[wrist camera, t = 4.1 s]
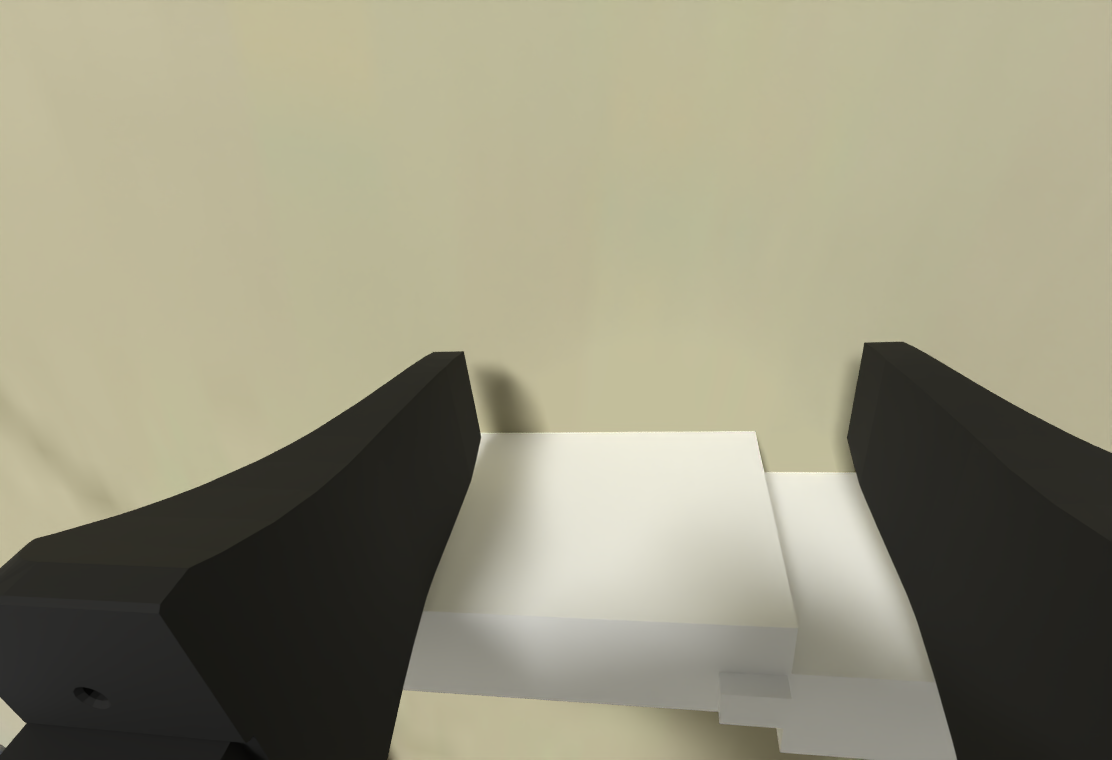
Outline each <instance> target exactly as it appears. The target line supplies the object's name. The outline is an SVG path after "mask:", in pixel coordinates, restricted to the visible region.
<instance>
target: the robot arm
mask: <svg viewBox="0 0 1112 760" xmlns="http://www.w3.org/2000/svg"><path fill="white" fill-rule="evenodd" d="M847 439H848V443H849V447H850V451H851V456H852V460H853V464H854V467H855V471H856V474H857V478H858V482H859V485H860V488H861V490H862V493H863V495H864V498H865V500H866V502H867V505H868V507H869V509H870V512H871V514H872V516H873V519H874V521H875V523H876V526H877V528H878V530H879V532H880V535H881V537H882V539H883V542H884V544H885V546H886V548H887V551H888V553H889V555H890V557H891V560H892V562H893V564H894V567H895V569H896V571H897V573H898V576H899V578H900V580H901V583H902V585H903V587H904V589H905V592H906V594H907V596H908V599H909V602H910V604H911V607H912V609H913V612H914V615H915V617H916V620H917V623H918V626H919V629H920V633H921V636H922V639H923V642H924V646H925V649H926V652H927V655H928V659H929V662H930V665H931V668H932V671H933V675H934V678H935V682H936V685H937V689H938V692H939V696H940V699H941V703H942V706H943V710H944V713H945V717H946V720H947V724H948V728H949V731H950V735H951V738H952V742H953V746H954V750H955V754H956V757H957V760H1112V453H1110V452H1108V451H1106V450H1103V449H1101V448H1099V447H1097V446H1094V445H1092V444H1090V443H1088V442H1086V441H1084V440H1081V439H1079V438H1077V437H1075V436H1073V435H1071V434H1069V433H1067V432H1065V431H1063V430H1061V429H1059V428H1057V427H1055V426H1053V425H1051V424H1049V423H1047V422H1045V421H1044V420H1042V419H1040V418H1038V417H1036V416H1034V415H1032V414H1030V413H1028V412H1026V411H1024V410H1023V409H1021V408H1019V407H1017V406H1015V405H1013V404H1012V403H1010V402H1008V401H1006V400H1004V399H1003V398H1001V397H999V396H997V395H996V394H994V393H992V392H990V391H989V390H987V389H985V388H983V387H982V386H980V385H978V384H977V383H975V382H973V381H972V380H970V379H968V378H966V377H965V376H963V375H961V374H960V373H958V372H956V371H955V370H953V369H951V368H950V367H948V366H946V365H945V364H943V363H941V362H940V361H938V360H936V359H934V358H933V357H931V356H929V355H928V354H926V353H924V352H922V351H920V350H919V349H917V348H915V347H913V346H911V345H909V344H907V343H904V342H873V343H864V348H863V354H862V359H861V365H860V370H859V376H858V381H857V387H856V392H855V398H854V403H853V409H852V414H851V420H850V425H849V431H848V436H847ZM480 441H481V434H480V429H479V424H478V419H477V414H476V409H475V404H474V399H473V394H472V390H471V385H470V380H469V375H468V370H467V365H466V360H465V355H464V351H461V352H433V353H431V354H429V355H427V356H425V357H424V358H422V359H421V360H419V361H418V362H416V363H415V364H413V365H412V366H410V367H409V368H407V369H406V370H404V371H403V372H401V373H400V374H399V375H397V376H396V377H394V378H393V379H392V380H390V381H389V382H387V383H386V384H384V385H383V386H382V387H380V388H379V389H377V390H376V391H374V392H373V393H372V394H370V395H369V396H367V397H366V398H364V399H363V400H361V401H360V402H358V403H357V404H355V405H354V406H352V407H351V408H349V409H348V410H346V411H344V412H343V413H341V414H340V415H338V416H337V417H335V418H333V419H332V420H330V421H329V422H327V423H326V424H324V425H322V426H321V427H319V428H318V429H316V430H314V431H313V432H311V433H309V434H308V435H306V436H304V437H302V438H300V439H299V440H297V441H295V442H293V443H291V444H290V445H288V446H286V447H284V448H282V449H280V450H278V451H276V452H274V453H272V454H270V455H268V456H266V457H264V458H262V459H260V460H258V461H256V462H254V463H252V464H249V465H247V466H245V467H243V468H240V469H238V470H236V471H234V472H231V473H229V474H227V475H225V476H222V477H220V478H218V479H215V480H213V481H211V482H209V483H206V484H204V485H202V486H199V487H197V488H194V489H191V490H189V491H186V492H183V493H181V494H178V495H175V496H173V497H170V498H167V499H165V500H162V501H159V502H156V503H153V504H150V505H147V506H144V507H142V508H139V509H136V510H133V511H130V512H127V513H123V514H120V515H117V516H114V517H110V518H107V519H104V520H100V521H97V522H93V523H90V524H86V525H83V526H79V527H76V528H72V529H69V530H65V531H62V532H59V533H55V534H51V535H48V536H44V537H40V538H36V539H34V540H32V541H31V542H29V543H28V544H27V545H26V546H25V547H23V548H22V549H21V550H20V551H19V552H18V553H17V554H16V555H15V556H13V557H12V558H11V559H10V560H9V561H8V562H7V563H6V564H4V565H3V566H2V567H1V568H0V697H1V698H2V699H3V700H4V701H5V702H6V704H7V705H8V706H9V707H10V708H11V709H12V710H13V711H14V712H15V713H16V714H17V715H18V716H19V717H20V718H21V719H22V720H23V721H24V722H25V723H27V724H26V725H25V726H24V727H23V728H22V730H21V731H20V732H19V733H18V734H17V736H16V737H15V738H14V739H13V740H12V741H11V743H10V744H9V745H8V746H7V747H6V748H5V747H4V746H2V745H0V760H387V758H388V753H389V749H390V744H391V740H392V735H393V731H394V726H395V721H396V717H397V712H398V708H399V703H400V699H401V695H402V690H403V686H404V682H405V678H406V674H407V670H408V666H409V662H410V658H411V654H412V650H413V646H414V642H415V638H416V635H417V631H418V627H419V624H420V620H421V616H422V613H423V609H424V605H425V602H426V598H427V595H428V592H429V589H430V586H431V583H432V581H433V578H434V575H435V572H436V570H437V567H438V565H439V562H440V560H441V557H442V555H443V552H444V550H445V547H446V545H447V542H448V539H449V537H450V534H451V532H452V529H453V527H454V524H455V522H456V519H457V517H458V514H459V512H460V509H461V506H462V504H463V501H464V499H465V496H466V494H467V491H468V488H469V485H470V483H471V480H472V476H473V472H474V468H475V464H476V459H477V455H478V450H479V445H480Z"/></svg>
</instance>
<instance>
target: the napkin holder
mask: <svg viewBox="0 0 1112 760" xmlns="http://www.w3.org/2000/svg"><path fill="white" fill-rule="evenodd" d="M480 434H481V441H480V445H479V450H478V455H477V459H476V464H475V468H474V472H473V476H472V480H471V483H470V485H469V488H468V491H467V494H466V496H465V499H464V501H463V504H462V506H461V509H460V512H459V514H458V517H457V519H456V522H455V524H454V527H453V529H452V532H451V534H450V537H449V539H448V542H447V545H446V547H445V550H444V552H443V555H442V557H441V560H440V562H439V565H438V567H437V570H436V572H435V575H434V578H433V581H432V583H431V586H430V589H429V592H428V595H427V598H426V602H425V605H424V609H423V613H422V616H421V620H420V624H419V627H418V631H417V635H416V638H415V642H414V646H413V650H412V654H411V658H410V662H409V666H408V670H407V674H406V678H405V682H404V686H403V690H410V691H424V692H439V693H453V694H468V695H482V696H497V697H511V698H525V699H540V700H554V701H569V702H583V703H598V704H612V705H627V706H641V707H656V708H670V709H684V710H699V711H713V712H719V724H728V725H741V726H755V727H769V728H776V731H777V737H778V743H779V749H780V752H781V753H793V754H806V755H819V756H831V757H844V758H857V759H869V760H957V757H956V754H955V750H954V746H953V742H952V738H951V735H950V731H949V728H948V724H947V720H946V717H945V713H944V710H943V706H942V703H941V699H940V696H939V692H938V689H937V685H936V682H935V678H934V675H933V671H932V668H931V665H930V662H929V659H928V655H927V652H926V649H925V646H924V642H923V639H922V636H921V633H920V629H919V626H918V623H917V620H916V617H915V615H914V612H913V609H912V607H911V604H910V602H909V599H908V596H907V594H906V592H905V589H904V587H903V585H902V583H901V580H900V578H899V576H898V573H897V571H896V569H895V567H894V564H893V562H892V560H891V557H890V555H889V553H888V551H887V548H886V546H885V544H884V542H883V539H882V537H881V535H880V532H879V530H878V528H877V526H876V523H875V521H874V519H873V516H872V514H871V512H870V509H869V507H868V505H867V502H866V500H865V498H864V495H863V493H862V490H861V488H860V485H859V482H858V478H857V474H856V472H764V469H763V465H762V460H761V455H760V451H759V446H758V442H757V437H756V433H755V431H717V432H558V433H480Z"/></svg>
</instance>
